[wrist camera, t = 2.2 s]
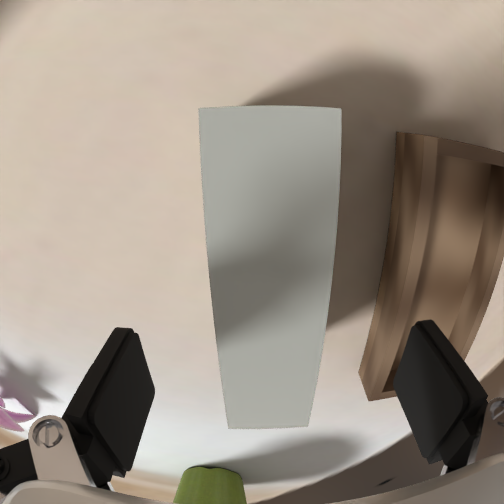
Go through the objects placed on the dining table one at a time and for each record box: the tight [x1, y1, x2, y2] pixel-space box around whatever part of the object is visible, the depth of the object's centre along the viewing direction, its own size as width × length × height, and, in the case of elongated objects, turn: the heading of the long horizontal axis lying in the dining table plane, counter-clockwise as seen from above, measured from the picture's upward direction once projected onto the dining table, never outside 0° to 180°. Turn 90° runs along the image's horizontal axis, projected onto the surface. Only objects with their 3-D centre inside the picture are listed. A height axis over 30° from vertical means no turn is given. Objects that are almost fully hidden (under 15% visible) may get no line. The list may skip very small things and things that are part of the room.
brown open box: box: [358, 132, 504, 401], centre depth 16 cm, size 17×8×3 cm, turn 1°
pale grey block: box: [199, 105, 341, 429], centre depth 14 cm, size 14×4×7 cm, turn 1°
